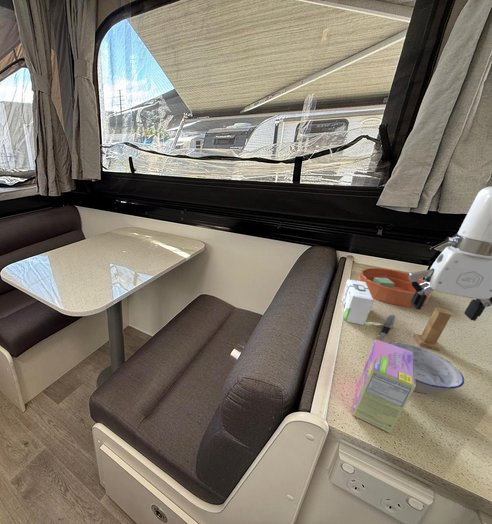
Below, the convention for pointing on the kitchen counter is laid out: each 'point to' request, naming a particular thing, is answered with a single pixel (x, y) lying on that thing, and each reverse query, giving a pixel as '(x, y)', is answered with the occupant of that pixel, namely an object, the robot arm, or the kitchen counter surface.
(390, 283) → the block
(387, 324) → the knife
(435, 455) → the kitchen counter surface
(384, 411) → the box
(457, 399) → the kitchen counter surface
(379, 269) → the bowl
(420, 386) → the bowl
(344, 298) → the ink box
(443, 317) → the brown wooden post
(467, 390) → the kitchen counter surface
